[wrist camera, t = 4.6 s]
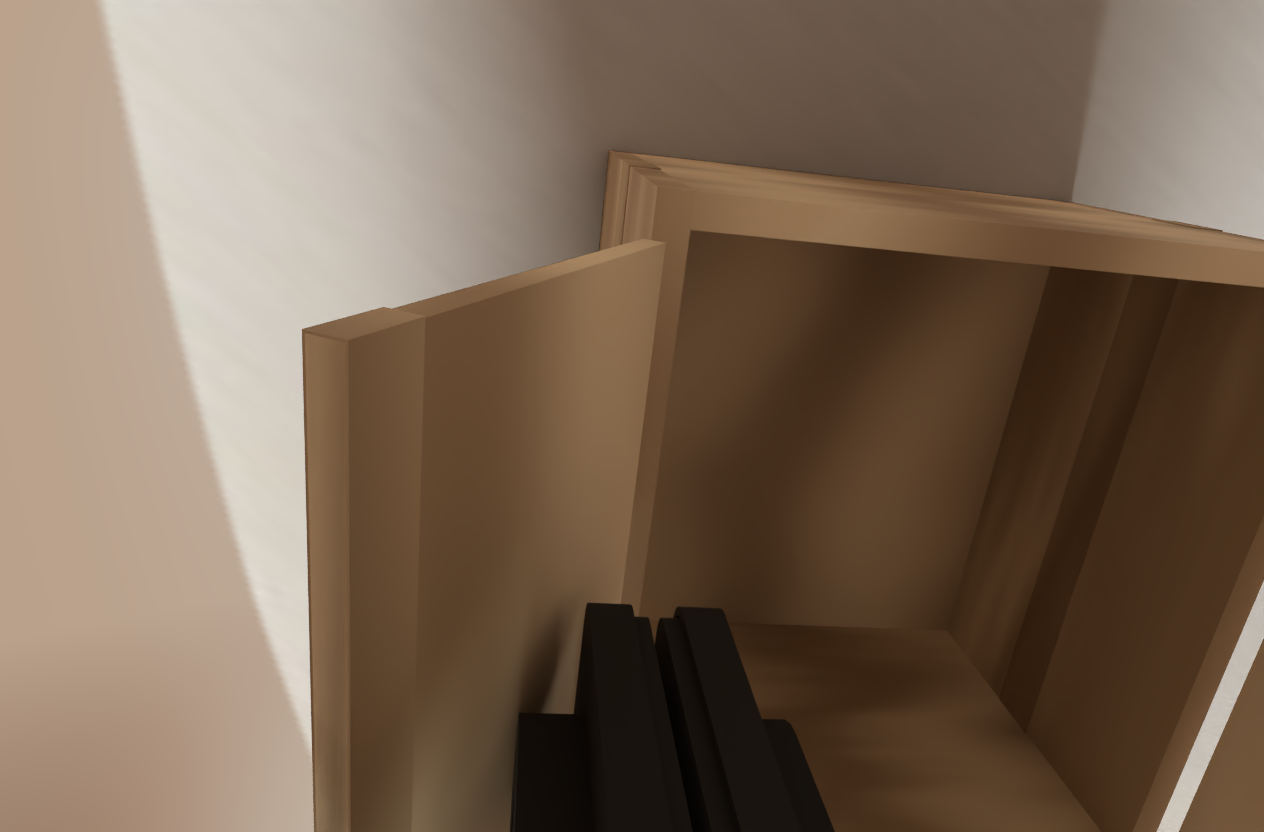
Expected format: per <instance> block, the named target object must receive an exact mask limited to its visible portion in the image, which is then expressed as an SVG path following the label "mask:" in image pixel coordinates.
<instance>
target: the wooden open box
mask: <svg viewBox="0 0 1264 832" xmlns="http://www.w3.org/2000/svg"><path fill="white" fill-rule="evenodd" d="M641 239H647V240H653V241H659V242H665V243H666V245H665V253H664V261H663V269H662V277H661V285H660V293H659V301H658V309H657V317H656V325H655V333H654V341H653V349H652V357H651V365H650V373H649V381H648V389H647V397H646V405H645V413H644V422H643V430H642V438H641V446H640V454H639V462H638V470H637V478H636V486H635V494H634V502H633V510H632V518H631V526H630V534H629V542H628V550H627V558H626V566H625V574H624V582H623V590H622V598H621V604H631V605H632V607H633V610H634V616H635V617H648V618H649V620H650V624H651V629H652V634H653V639H654V644H655V639H656V632H657V626H658V622H659V619H660V618H673V616H674V612H675V610H676V608H677V607H678V606H681V607H704V608H721V609H723V611H724V613H725V616H726V619H727V622H728V624H729V627H730V630H731V633H732V636H733V638H734V641H735V644H736V647H737V650H738V653H739V655H740V658H741V661H742V664H743V667H744V670H745V672H746V675H747V678H748V681H749V684H750V687H751V689H752V692H753V695H754V698H755V701H756V704H757V706H758V709H759V712H760V715H761V718H762V719H785V720H786V721H788V722H789V723H790V724H791V726H792V727H793V729H794V731H795V733H796V735H797V738H798V740H799V743H800V745H801V748H802V750H803V753H804V755H805V758H806V760H807V763H808V765H809V768H810V770H811V773H812V775H813V778H814V780H815V783H816V786H817V788H818V791H819V793H820V796H821V798H822V801H823V803H824V806H825V808H826V811H827V813H828V816H829V818H830V821H831V823H832V826H833V828H834V831H835V832H1156V831H1157V829H1158V827H1159V824H1160V822H1161V820H1162V817H1163V815H1164V813H1165V810H1166V808H1167V806H1168V803H1169V801H1170V799H1171V796H1172V794H1173V792H1174V789H1175V787H1176V785H1177V782H1178V780H1179V778H1180V775H1181V773H1182V771H1183V768H1184V766H1185V764H1186V761H1187V759H1188V757H1189V754H1190V752H1191V749H1192V747H1193V745H1194V742H1195V740H1196V738H1197V735H1198V733H1199V731H1200V728H1201V726H1202V724H1203V721H1204V719H1205V717H1206V714H1207V712H1208V710H1209V707H1210V705H1211V703H1212V700H1213V698H1214V696H1215V693H1216V691H1217V689H1218V686H1219V684H1220V682H1221V679H1222V677H1223V675H1224V672H1225V670H1226V667H1227V665H1228V663H1229V660H1230V658H1231V656H1232V653H1233V651H1234V649H1235V646H1236V644H1237V642H1238V639H1239V637H1240V635H1241V632H1242V630H1243V628H1244V625H1245V623H1246V621H1247V618H1248V616H1249V614H1250V611H1251V609H1252V607H1253V604H1254V602H1255V600H1256V597H1257V595H1258V593H1259V590H1260V588H1261V585H1262V583H1263V581H1264V240H1262V239H1257V238H1252V237H1247V236H1242V235H1237V234H1231V233H1226V232H1222V230H1217V229H1212V228H1207V227H1202V226H1197V225H1191V224H1186V223H1181V222H1176V221H1167V220H1160V219H1155V218H1149V217H1144V216H1139V215H1134V214H1129V213H1124V212H1119V211H1114V210H1108V209H1103V208H1098V207H1093V206H1088V205H1083V204H1078V203H1072V202H1064V201H1055V200H1046V199H1037V198H1028V197H1019V196H1010V195H1001V194H992V193H983V192H974V191H965V190H957V189H948V188H939V187H930V186H921V185H912V184H903V183H894V182H885V181H876V180H867V179H859V178H850V177H841V176H832V175H823V174H814V173H805V172H796V171H787V170H778V169H769V168H760V167H752V166H743V165H734V164H725V163H716V162H707V161H698V160H689V159H680V158H671V157H662V156H653V155H645V154H636V153H627V152H618V151H609V152H608V163H607V173H606V183H605V193H604V203H603V214H602V224H601V234H600V244H599V251H601V250H605V249H608V248H612V247H616V246H619V245H623V244H626V243H630V242H633V241H637V240H641Z"/></svg>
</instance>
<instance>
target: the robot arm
mask: <svg viewBox="0 0 1264 832" xmlns="http://www.w3.org/2000/svg"><path fill="white" fill-rule="evenodd" d="M510 832H835V831H834V828H833V826H832V823H831V821H830V818H829V816H828V813H827V811H826V808H825V806H824V803H823V801H822V798H821V796H820V793H819V791H818V788H817V786H816V783H815V780H814V778H813V775H812V773H811V770H810V768H809V765H808V763H807V760H806V758H805V755H804V753H803V750H802V748H801V745H800V743H799V740H798V738H797V735H796V733H795V731H794V729H793V727H792V726H791V724H790V723H789V722H788V721H786V720H785V719H762V718H761V715H760V712H759V709H758V706H757V704H756V701H755V698H754V695H753V692H752V689H751V687H750V684H749V681H748V678H747V675H746V672H745V670H744V667H743V664H742V661H741V658H740V655H739V653H738V650H737V647H736V644H735V641H734V638H733V636H732V633H731V630H730V627H729V624H728V622H727V619H726V616H725V613H724V611H723V609H721V608H704V607H681V606H678V607H677V608H676V610H675V612H674V616H673V618H660V619H659V622H658V626H657V632H656V639H655V644H654V639H653V634H652V629H651V624H650V620H649V618H648V617H635V616H634V610H633V607H632V605H631V604H611V603H587V605H586V610H585V617H584V625H583V634H582V643H581V652H580V661H579V670H578V679H577V688H576V697H575V706H574V714H551V713H519V716H518V727H517V739H516V751H515V763H514V775H513V787H512V802H511V818H510Z"/></svg>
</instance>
